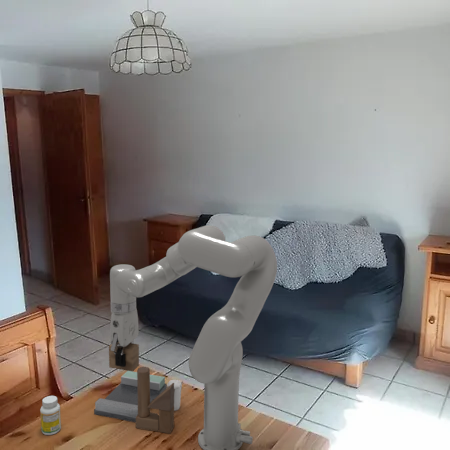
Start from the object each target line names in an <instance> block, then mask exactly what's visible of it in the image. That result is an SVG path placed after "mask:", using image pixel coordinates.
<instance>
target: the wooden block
mask: <svg viewBox="0 0 450 450" xmlns="http://www.w3.org/2000/svg"><path fill="white" fill-rule="evenodd" d="M136 372H137V389H138V415H137V416H136V422H135V428H136V429H140V430H146V431H154V432H160V433H163V434H171V433H172V432H173V429H174V427H175V411H174V383H173V384H171V385H170V386H169V387H168V388H166V389H165V390H164V391H163V392H162V393H161V394H159V395H158V396H157V397H156V398H155V399H153V400H152V401H151V403H150V375H151V369H150V368H149V367H148V366H141V367H137V369H136ZM151 409H153V410H158V412H157V413H156V412H151Z"/></svg>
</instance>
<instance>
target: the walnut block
mask: <svg viewBox="0 0 450 450" xmlns="http://www.w3.org/2000/svg"><path fill="white" fill-rule="evenodd" d="M118 343H119V342H118ZM133 343H134V342H133ZM133 343H129V344H128V345H127V346H126V347H125V349H124V354H126V366H125V367H121V366H116V365H115V354H114V352H113V351H111V346H112V344H111V343H110V344H109V345H108V364H109V365H108V366H109V368H110V369H116V370H117V369H118V370H121V371H126V372H127V371H132V372H135V370H137V369H138V368H139V366H140V359H139V358H140V347H139V346H140V345H139V343H138V344H137V343H134V344H133ZM118 348H120V349H121V347H119V346H118Z"/></svg>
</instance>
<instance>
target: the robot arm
mask: <svg viewBox="0 0 450 450" xmlns="http://www.w3.org/2000/svg"><path fill="white" fill-rule="evenodd" d="M165 255H166V256H165V257H163V258H161V259H160V260H158V261H156V262H155V263H153V264H151V265H148V266H145V267H143V268H140V269H136V268H135V266H133V265H131V264H123V263H122V264H116V265H113V266H112V267H111V268H110V270H109V281H110V283H109V284H110V285H109V288H110V291H109V293H110V313H111V315H110V325H109V327H110V328H109V330H110V331H109V339H110V341H109V342H110V345H111V344H112V346H111V351H113V352H114V354H115V365H116V366H121V367H125V366H126V354H124V349H125V347H126V346H127V345H128V344H129V343H133V344H135V343H134V340H135V339H136V338H138V336H139V333H140V332H139V329H140V328H139V316H138V310H137V298H143V297H144V296H147V295H149V294H151V293H153V292H155V291H157V290H160V289H162V288H164V287H165V286H167V285H169V284H171V283H173V282H174V281H176V280H177V279H179V278H180V277H182V276H185V275H187V274H188V273H190V272H191V271H193V270H194V269H196V268H199V269H203V270H205V271H209V272H212V273H214V274H217V275H221V276H224V277H228V278H240V279H239V280H238V281H237V283H236V285H235V287H234V289H233V292H232V293H231V295H230V298H229V299H228V301H227V303H226V304H225V305H224V306H222V307H221V309H219V310H217V311H216V312H215V313H213V314H212V315H211V316H210V317H208V318H207V320H206V321H205V323H204V324H203V327H202V328H201V331H200V332H199V335H198V336H197V337H198V338H197V339H196V341H195V343H194V346H193V348H192V350H191V352H190V355H189V358H188V369H189V371H190V374H191V377H192V378H193V379H194V380H195V381H196V382H198V383H200V384H203V385H204V386H203V387H204V388H203V389H204V390H203V391H204V392H203V428H202V429H201V430H200V432H199V433H198V436H197V441H198V445H199V447H200V449H202V450H239V449H240V448H241V447H242V445H243V443H245V444H250V445H252V444H253V439H254V438H253V436H251V431H249V430H243V429H242V428H241V425H242V424H241V423H239V395H240V393H239V391H240V375H241V368H242V362H243V355H244V354H243V351H244V350H243V345H242V341H244V339H246V338H247V337H248V335H249V334H250V333H251V332H252V330H253V328H254V326H255V324H256V321H257V320H258V317H259V315H260V313H261V312H262V309H263V308H264V305H265V303H266V300H267V299H268V296H269V295H270V293H271V290H272V288H273V285H275V284H274V283H275V280H276V278H277V272H278V262H277V261H278V260H277V257H276V254H275V251H274V248H273V247H272V245H271V244H270V243H269V241H268V240H266V239H265V238H264V237H262V236H260V235H247V236H243V237H241V238H238V239H236V240H233V241H231V242H230V241H227V240H226V236H225V234H224V232H223V231H222V230H221V228H219V227H217V226H214V225H203V226H200V227H197V228H193V229H190V230H188V231H186V232H185V233H183V234H182V236H181V237H180V238H179V241H178V242H176V243H175V244H173V245H171V246H170V247H169V248H168V249H167V251H166V254H165ZM118 342H119V343H118ZM118 346H119V347H121V349H120V348H118Z"/></svg>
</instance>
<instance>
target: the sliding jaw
mask: <svg viewBox="0 0 450 450" xmlns="http://www.w3.org/2000/svg"><path fill="white" fill-rule="evenodd" d="M120 383H121V384H125V385H130V386H136V387H137V371H127V370H126V372H124V373H123V374H122V375H121V376H120ZM164 384H166V377H165V376H162V375H161V376H160V375H155V374H150V389H153V390H158V391H159V390H160V389H161V388H162V387H163V386H164Z"/></svg>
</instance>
